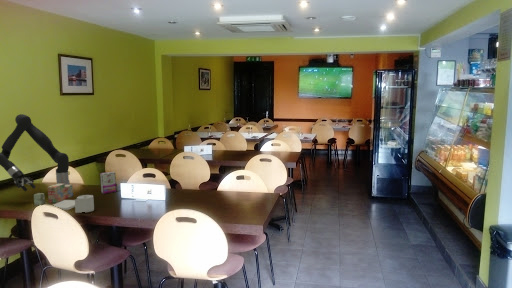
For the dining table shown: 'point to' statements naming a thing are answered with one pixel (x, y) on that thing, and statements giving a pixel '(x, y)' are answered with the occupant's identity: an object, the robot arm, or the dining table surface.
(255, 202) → the dining table surface
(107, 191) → the candy bar box
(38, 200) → the sage block
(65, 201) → the cutting board
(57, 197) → the colorful patterned box
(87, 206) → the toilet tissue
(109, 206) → the dining table surface
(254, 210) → the dining table surface
